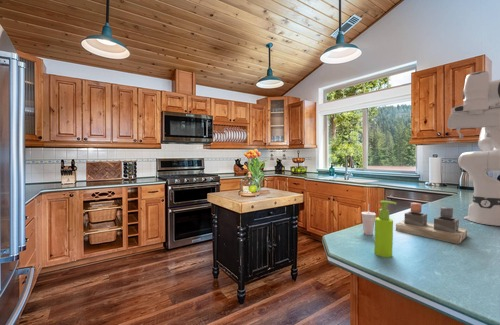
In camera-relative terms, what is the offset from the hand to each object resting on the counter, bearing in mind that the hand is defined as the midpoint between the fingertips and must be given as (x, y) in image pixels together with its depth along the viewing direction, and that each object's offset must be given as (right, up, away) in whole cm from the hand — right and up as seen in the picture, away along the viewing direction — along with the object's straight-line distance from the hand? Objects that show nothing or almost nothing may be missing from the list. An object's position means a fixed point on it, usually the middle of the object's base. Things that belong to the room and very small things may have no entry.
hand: (474, 137), depth 114 cm
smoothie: (-48, -45, +2) cm, 66 cm away
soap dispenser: (-53, -46, -22) cm, 74 cm away
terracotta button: (-22, -36, +7) cm, 43 cm away
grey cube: (-14, -36, -2) cm, 39 cm away
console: (-18, -45, +3) cm, 49 cm away
